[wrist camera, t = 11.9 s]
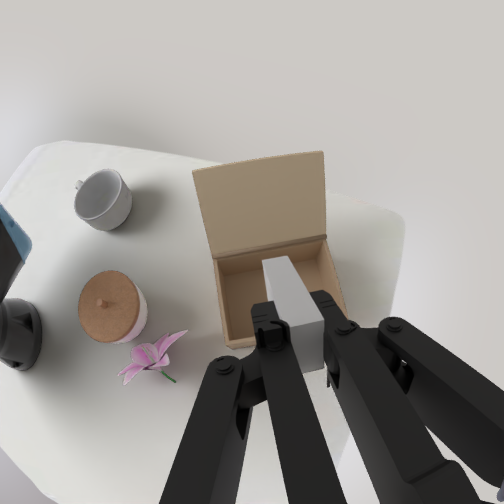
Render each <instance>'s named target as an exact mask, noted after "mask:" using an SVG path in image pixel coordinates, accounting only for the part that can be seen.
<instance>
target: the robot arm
mask: <svg viewBox="0 0 504 504" xmlns="http://www.w3.org/2000/svg"><path fill="white" fill-rule="evenodd" d="M31 249H32V241H31V239H30V237H29V236H28V235H27V234H26V233H25V231H24V230H23V229H22V228H21V227H20V226H19V225H18V223H17V222H16V221H15V220H14V219H13V217H12V216H11V215H10V214H9V213H8V212H7V210H6V209H5V208H4V207H3V205H2V204H1V203H0V361H1V362H3V363H4V364H6V365H7V366H9V367H11V368H13V369H18V370H26V369H28V368H30V367H31V366H32V365H33V364H34V363H35V361H36V359H37V357H38V354H39V351H40V347H41V340H42V330H41V322H40V318H39V315H38V313H37V311H36V309H35V308H34V306H33V305H32V304H30V303H29V302H27V301H24V300H22V299H18V298H11V299H4V298H5V296H6V294H7V292H8V290H9V289H10V287H11V285H12V283H13V282H14V280H15V278H16V276H17V275H18V273H19V271H20V270H21V268H22V266H23V265H24V264H25V260H26V258H27V257H28V255H29V253H30V251H31ZM262 264H263V270H264V277H265V284H266V291H267V297H268V302H262V303H257V304H253V306H252V308H251V310H250V311H251V317H252V322H253V328H254V334H255V339H256V348H255V350H254V351H253V352H252V353H251V354H250V355H248V356H247V357H245V358H242V359H240V360H239V359H238V358H236V357H234V356H221V357H219V358H216V359H214V360H213V361H212V362H210V364H209V365H208V367H207V370H206V373H205V375H204V378H203V381H202V384H201V387H200V389H199V392H198V395H197V398H196V401H195V403H194V406H193V409H192V412H191V415H190V417H189V420H188V423H187V426H186V429H185V431H184V434H183V437H182V440H181V443H180V445H179V448H178V451H177V454H176V457H175V459H174V462H173V465H172V468H171V471H170V474H169V476H168V479H167V482H166V485H165V488H164V491H163V493H162V496H161V499H160V502H159V504H235V502H236V497H237V492H238V487H239V482H240V477H241V471H242V466H243V461H244V456H245V450H246V445H247V439H248V434H249V428H250V422H251V417H252V411H253V406H255V405H257V404H259V403H261V402H263V401H266V400H267V401H268V406H269V411H270V416H271V420H272V425H273V430H274V435H275V440H276V445H277V450H278V455H279V459H280V464H281V469H282V474H283V478H284V483H285V488H286V493H287V497H288V502H289V504H347V502H346V499H345V497H344V494H343V490H342V488H341V485H340V482H339V479H338V476H337V473H336V470H335V467H334V464H333V461H332V458H331V455H330V452H329V449H328V447H327V444H326V441H325V438H324V435H323V432H322V429H321V426H320V423H319V420H318V418H317V415H316V412H315V409H314V406H313V403H312V400H311V397H310V395H309V392H308V389H307V386H306V383H305V380H304V377H303V375H302V374H303V373H307V372H311V371H315V370H319V369H323V368H324V361H325V363H326V365H327V388H328V387H330V383H331V385H332V388H333V390H334V392H335V395H336V397H337V399H338V402H339V404H340V406H341V409H342V411H343V413H344V416H345V418H346V421H347V423H348V425H349V428H350V430H351V433H352V435H353V437H354V440H355V442H356V445H357V447H358V449H359V452H360V454H361V457H362V459H363V461H364V464H365V467H366V469H367V472H368V474H369V477H370V479H371V481H372V484H373V487H374V489H375V491H376V494H377V497H378V499H379V502H380V504H494V503H490V502H485V501H482V500H480V499H479V497H478V495H477V493H476V491H475V489H474V487H473V486H472V484H471V482H470V480H469V478H468V477H467V475H466V473H465V471H464V470H463V468H462V467H461V465H460V464H459V463H458V462H456V461H454V460H447V459H445V458H444V457H443V456H442V454H441V452H440V450H439V449H438V447H437V445H436V444H435V442H434V440H433V439H432V437H431V435H430V434H429V432H428V430H427V429H426V427H427V428H428V429H429V430H430V431H431V432H432V433H434V434H435V435H436V436H437V437H438V438H439V439H440V440H441V441H442V442H443V443H444V444H445V445H446V446H447V447H448V448H449V449H450V450H451V451H452V452H453V453H455V454H456V455H457V456H458V457H459V458H460V459H461V460H462V461H463V462H464V463H465V464H466V465H467V466H468V467H469V468H470V469H471V470H473V471H474V472H475V473H476V474H477V475H478V476H479V477H480V478H482V479H483V480H484V481H486V482H487V483H489V484H491V485H493V486H495V487H498V488H500V490H499V491H498V493H497V500H498V501H500V502H502V501H504V391H503V390H501V389H500V388H499V387H498V386H496V385H495V384H494V383H492V382H491V381H490V380H488V379H487V378H486V377H484V376H483V375H482V374H480V373H479V372H477V371H476V370H475V369H473V368H472V367H471V366H469V365H468V364H466V363H465V362H464V361H462V360H461V359H460V358H458V357H457V356H455V355H454V354H452V353H451V352H450V351H448V350H447V349H446V348H444V347H443V346H441V345H440V344H439V343H437V342H436V341H434V340H433V339H432V338H430V337H429V336H427V335H426V334H424V333H422V332H421V331H420V330H418V329H417V328H416V327H414V326H413V325H411V324H410V323H408V322H407V321H405V320H404V319H402V318H398V317H388V318H385V319H383V320H382V321H381V322H380V324H379V327H378V328H360V326H359V325H358V324H357V323H356V322H354V321H351V320H348V319H347V318H346V316H345V315H344V314H343V312H342V311H341V309H340V308H339V306H338V305H337V303H336V302H335V300H334V299H333V297H332V296H331V295H330V293H328V292H326V291H324V290H318V291H313V292H308V290H307V288H306V287H305V285H304V283H303V281H302V280H301V278H300V276H299V275H298V273H297V271H296V269H295V268H294V266H293V264H292V263H291V261H290V259H289V257H288V256H282V257H276V258H271V259H265V260H262ZM402 360H403V361H404V362H406V363H404V362H403V361H402ZM425 426H426V427H425Z"/></svg>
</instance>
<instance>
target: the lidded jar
mask: <svg viewBox="0 0 504 504" xmlns="http://www.w3.org/2000/svg"><path fill="white" fill-rule="evenodd" d="M78 314H79V319H80V323H81V325H82V327H83V329H84V331H85V332H86V333H87V334H88V335H89V336H90V337H91V338H93V339H95V340H97V341H100V342H105V343H113V344H118V343H125V342H128V341H130V340H132V339H134V338H135V337H137V336H138V335H139V334H140V333H141V331H142V330H143V328H144V326H145V324H146V321H147V315H148V309H147V303H146V300H145V297H144V296H143V294H142V292H141V291H140V289H139V288H138V287H137V286H136V285H135V284H134V283H133V282H132V281H131V280H130V279H129V278H128V277H127V276H126V275H124V274H122V273H120V272H118V271H104V272H101V273H99V274H97V275H95V276H94V277H93V278H91V279H90V281H89V282H88V283H87V284H86V285H85V287H84V289H83V290H82V293H81V295H80V299H79V304H78Z"/></svg>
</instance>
